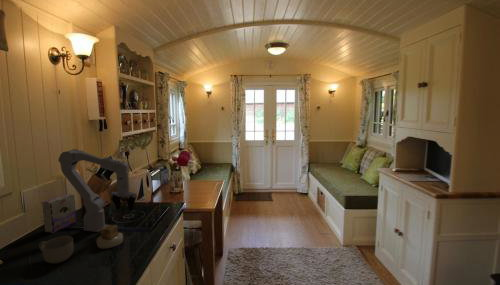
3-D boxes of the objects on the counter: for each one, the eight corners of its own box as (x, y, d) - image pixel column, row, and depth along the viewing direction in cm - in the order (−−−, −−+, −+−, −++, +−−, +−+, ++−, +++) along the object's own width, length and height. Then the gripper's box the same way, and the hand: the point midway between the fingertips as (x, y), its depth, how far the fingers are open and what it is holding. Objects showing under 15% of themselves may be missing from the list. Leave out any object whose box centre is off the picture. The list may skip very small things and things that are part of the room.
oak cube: (101, 239, 124) (100, 229, 123) (109, 234, 129) (108, 224, 128) (110, 240, 123) (110, 229, 122) (118, 235, 128) (117, 225, 127)
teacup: (80, 255, 115) (79, 237, 114) (55, 269, 105) (53, 250, 104) (57, 250, 119) (56, 233, 118) (31, 263, 109) (29, 244, 108)
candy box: (69, 221, 151) (66, 193, 149) (77, 222, 149) (74, 194, 147) (44, 232, 137) (41, 201, 135) (53, 233, 136) (50, 202, 134)
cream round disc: (91, 247, 122) (90, 241, 121) (108, 236, 132) (108, 231, 132) (112, 250, 119) (111, 244, 119) (128, 239, 130) (127, 233, 130)
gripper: (105, 186, 139) (107, 211, 140) (129, 187, 135) (131, 213, 137) (115, 182, 145) (117, 206, 147) (138, 184, 142) (140, 208, 144)
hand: (124, 209), depth 142 cm, fingers open, 7 cm apart
